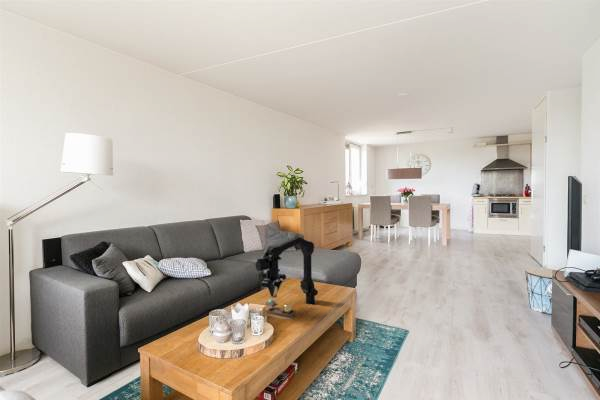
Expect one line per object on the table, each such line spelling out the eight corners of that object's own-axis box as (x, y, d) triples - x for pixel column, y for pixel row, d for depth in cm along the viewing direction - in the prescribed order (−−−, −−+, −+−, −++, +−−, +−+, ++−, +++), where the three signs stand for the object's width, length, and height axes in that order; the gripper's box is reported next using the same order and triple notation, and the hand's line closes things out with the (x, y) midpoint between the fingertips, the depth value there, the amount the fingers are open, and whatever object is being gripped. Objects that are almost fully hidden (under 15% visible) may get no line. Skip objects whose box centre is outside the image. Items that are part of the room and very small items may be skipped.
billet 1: (273, 295, 182) (272, 284, 182) (278, 295, 181) (278, 285, 180) (269, 297, 179) (269, 286, 179) (275, 298, 177) (275, 287, 177)
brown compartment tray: (273, 309, 187) (273, 305, 187) (298, 314, 179) (298, 309, 179) (263, 316, 177) (263, 311, 177) (289, 321, 169) (289, 316, 169)
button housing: (269, 304, 195) (269, 299, 195) (275, 305, 193) (275, 300, 193) (265, 307, 191) (265, 302, 191) (271, 308, 189) (271, 303, 189)
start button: (270, 303, 194) (270, 298, 194) (273, 304, 193) (273, 299, 193) (267, 305, 192) (267, 300, 192) (271, 305, 190) (271, 300, 190)
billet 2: (286, 312, 179) (286, 302, 178) (292, 314, 177) (292, 303, 177) (283, 315, 175) (282, 304, 175) (289, 316, 173) (289, 306, 173)
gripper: (270, 263, 191) (271, 288, 192) (252, 270, 175) (253, 298, 175) (286, 265, 186) (286, 290, 187) (269, 272, 170) (269, 300, 170)
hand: (274, 294), depth 180 cm, fingers closed on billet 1, 4 cm apart
